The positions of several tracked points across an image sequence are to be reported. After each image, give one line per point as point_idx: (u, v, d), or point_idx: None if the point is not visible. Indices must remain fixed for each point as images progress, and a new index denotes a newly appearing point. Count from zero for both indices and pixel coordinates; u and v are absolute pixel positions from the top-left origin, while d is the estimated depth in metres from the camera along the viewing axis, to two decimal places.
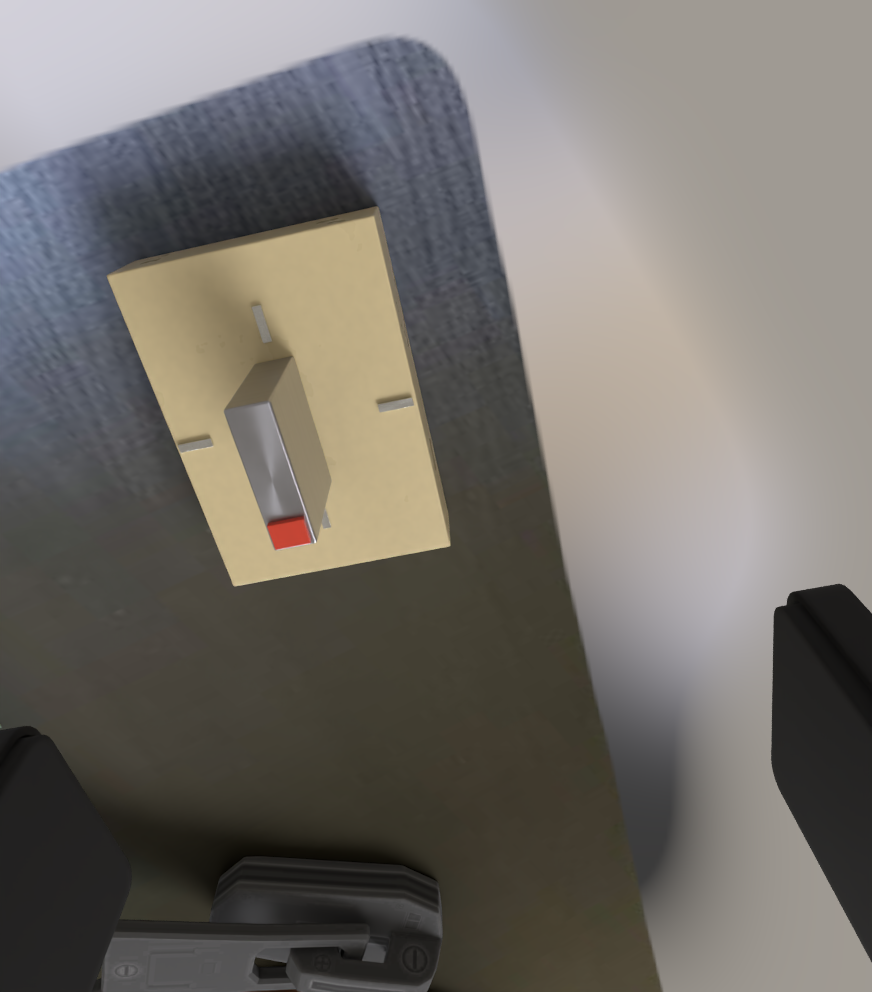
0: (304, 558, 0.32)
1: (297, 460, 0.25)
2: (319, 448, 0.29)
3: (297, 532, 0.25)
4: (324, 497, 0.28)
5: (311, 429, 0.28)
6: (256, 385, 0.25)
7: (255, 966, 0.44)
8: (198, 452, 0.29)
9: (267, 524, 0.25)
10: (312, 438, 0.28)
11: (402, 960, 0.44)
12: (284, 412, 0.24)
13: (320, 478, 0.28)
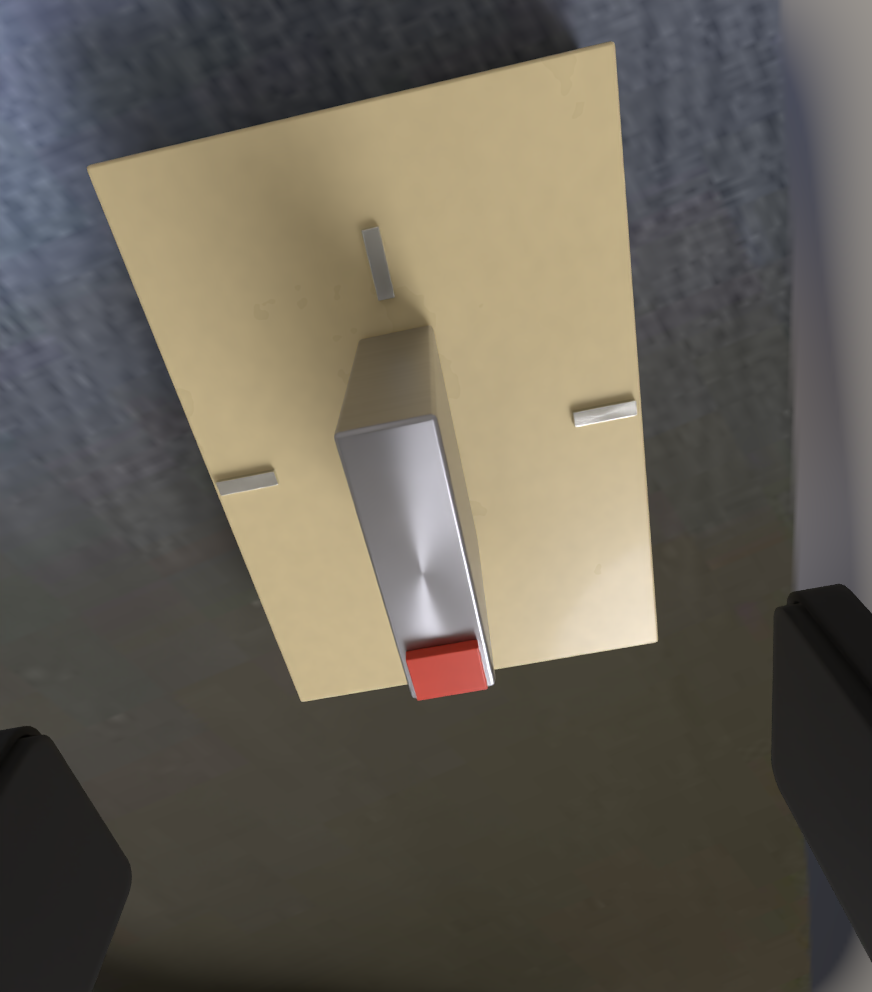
0: None
1: (465, 529, 0.13)
2: (466, 489, 0.16)
3: (463, 671, 0.13)
4: (482, 580, 0.16)
5: (458, 457, 0.16)
6: (385, 379, 0.12)
7: None
8: (250, 494, 0.17)
9: (405, 654, 0.13)
10: (462, 474, 0.15)
11: None
12: (445, 435, 0.12)
13: (475, 546, 0.16)
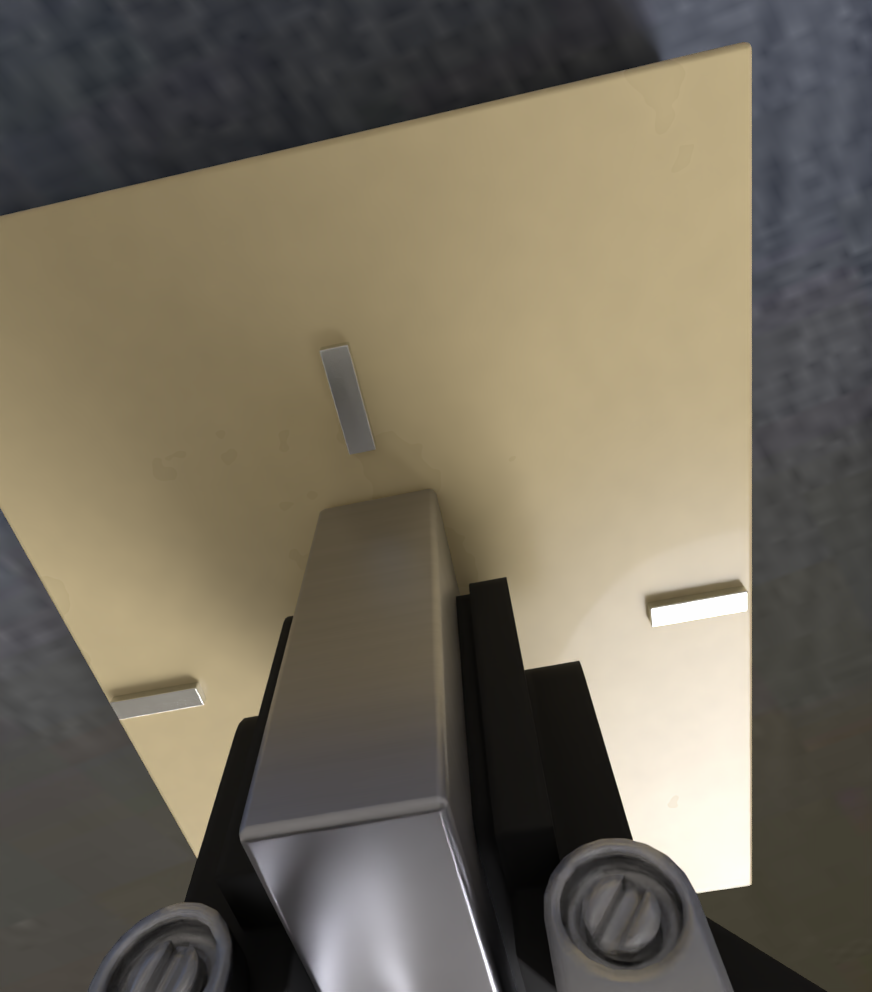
0: None
1: None
2: None
3: None
4: None
5: None
6: (354, 640, 0.07)
7: None
8: (165, 714, 0.11)
9: None
10: None
11: None
12: (462, 755, 0.07)
13: None
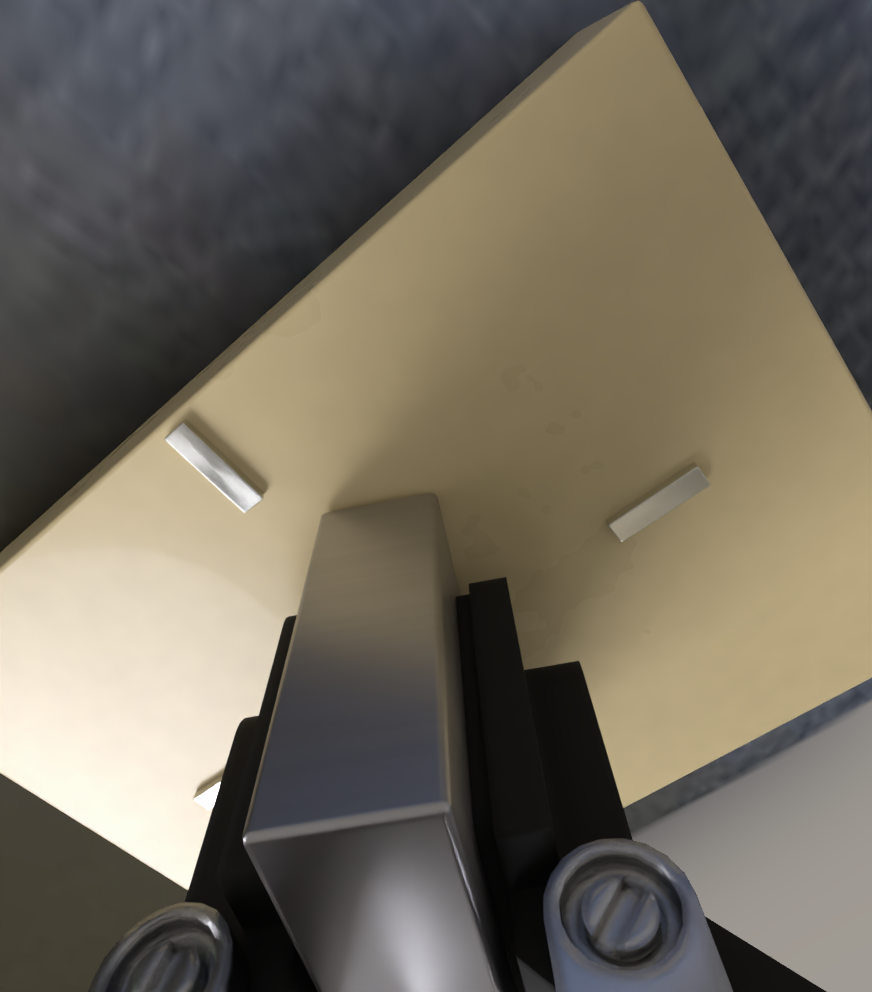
0: (83, 787, 0.12)
1: None
2: None
3: None
4: None
5: None
6: (355, 643, 0.07)
7: None
8: (194, 477, 0.09)
9: None
10: None
11: None
12: (463, 759, 0.07)
13: None
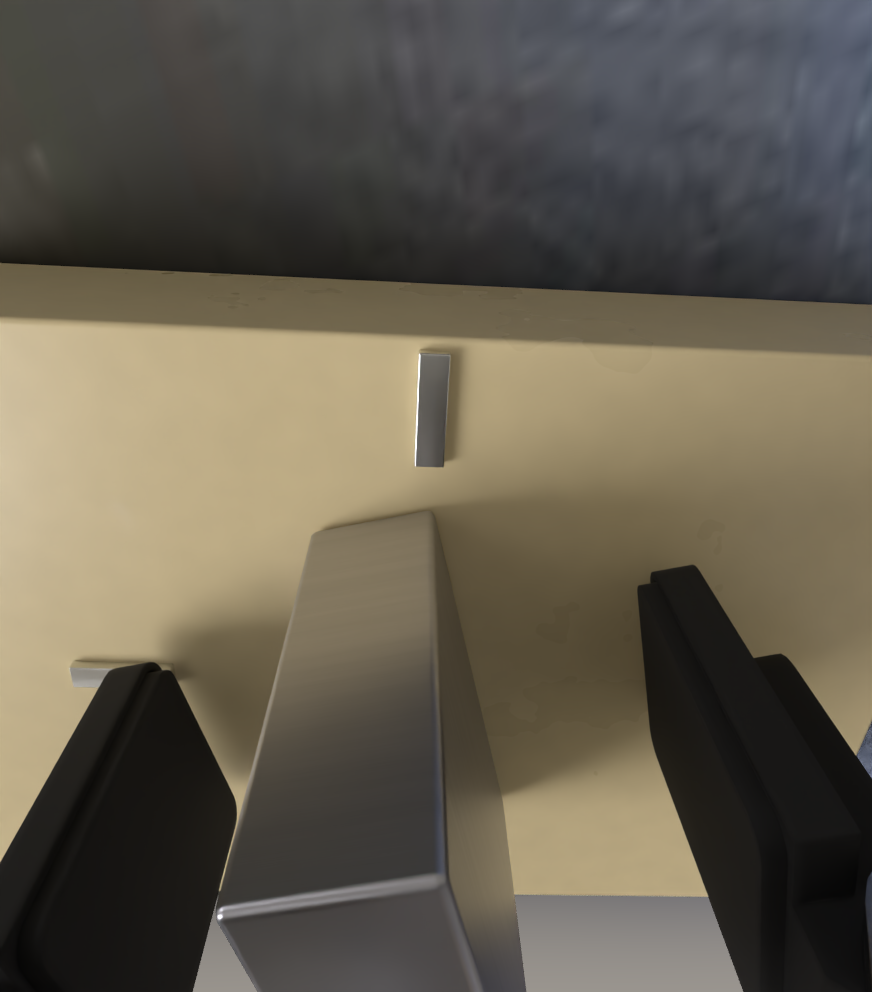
0: None
1: (499, 963, 0.07)
2: (487, 748, 0.10)
3: None
4: (516, 917, 0.09)
5: (476, 714, 0.10)
6: (345, 683, 0.06)
7: None
8: (400, 402, 0.08)
9: None
10: (482, 747, 0.09)
11: None
12: (462, 810, 0.06)
13: (504, 861, 0.09)
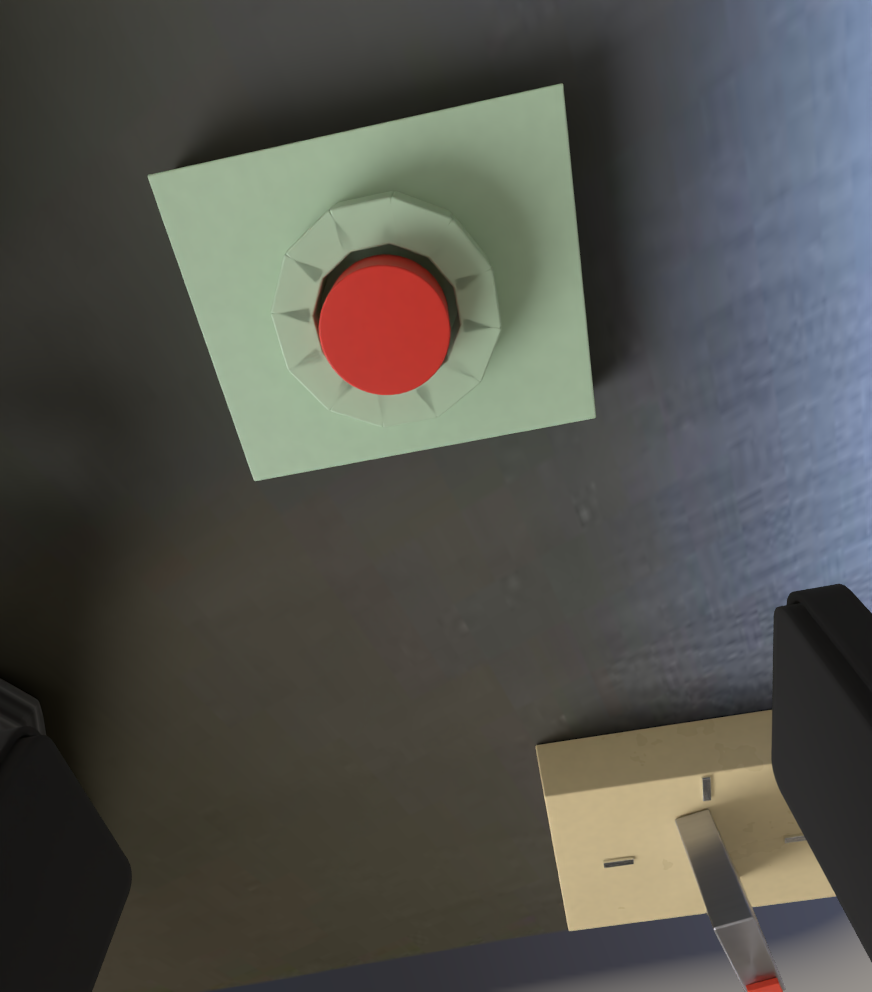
0: (570, 846, 0.33)
1: (760, 931, 0.29)
2: (734, 866, 0.33)
3: (773, 991, 0.29)
4: (756, 918, 0.32)
5: (731, 860, 0.32)
6: (713, 875, 0.29)
7: None
8: (697, 787, 0.31)
9: (746, 987, 0.30)
10: None
11: None
12: (747, 900, 0.29)
13: None
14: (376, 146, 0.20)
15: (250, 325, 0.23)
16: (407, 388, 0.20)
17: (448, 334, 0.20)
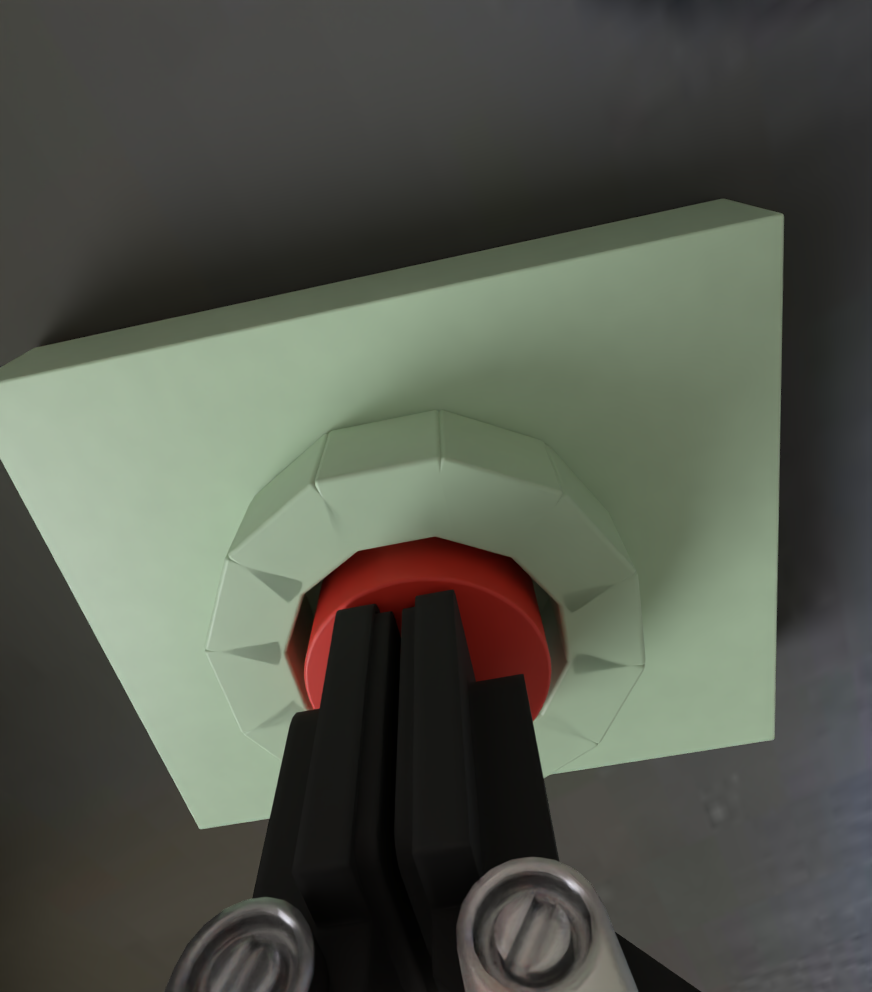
0: None
1: None
2: None
3: None
4: None
5: None
6: None
7: None
8: None
9: None
10: None
11: None
12: None
13: None
14: (405, 333, 0.10)
15: (178, 621, 0.13)
16: None
17: (547, 681, 0.10)
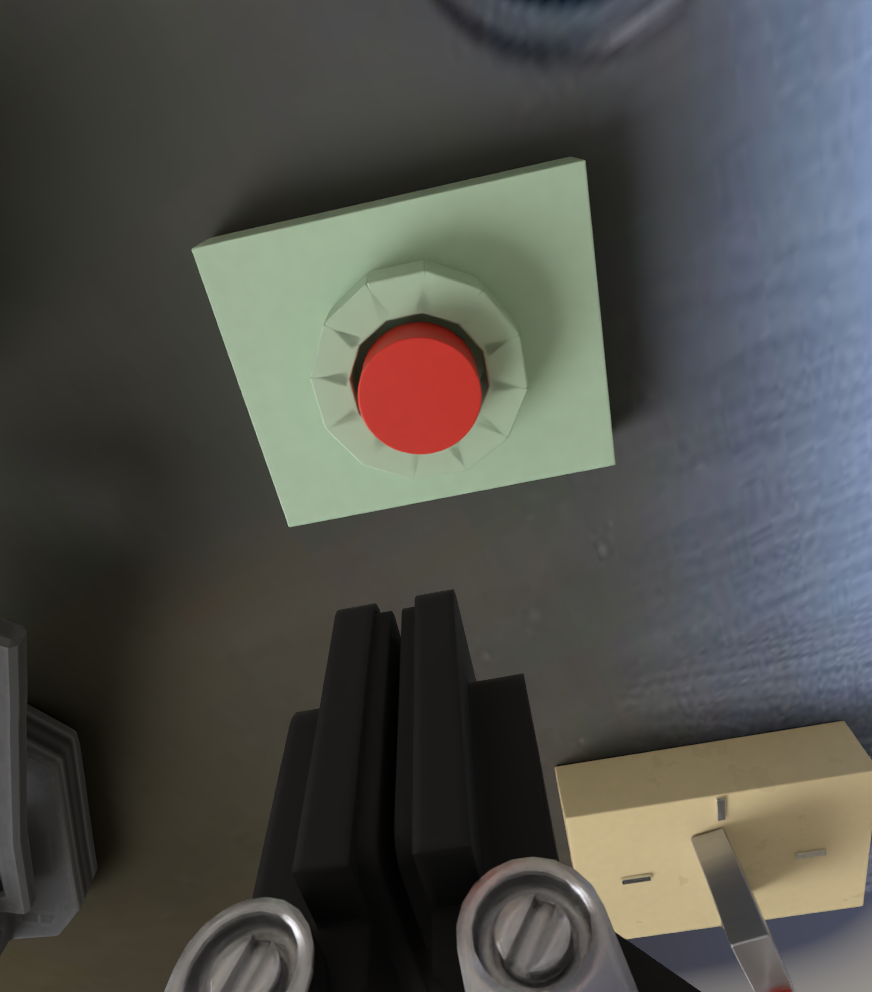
0: (590, 864, 0.34)
1: (775, 946, 0.31)
2: None
3: None
4: None
5: None
6: (729, 893, 0.31)
7: None
8: (712, 807, 0.33)
9: None
10: None
11: None
12: None
13: None
14: (408, 219, 0.21)
15: (287, 384, 0.24)
16: (440, 448, 0.21)
17: (479, 398, 0.21)
